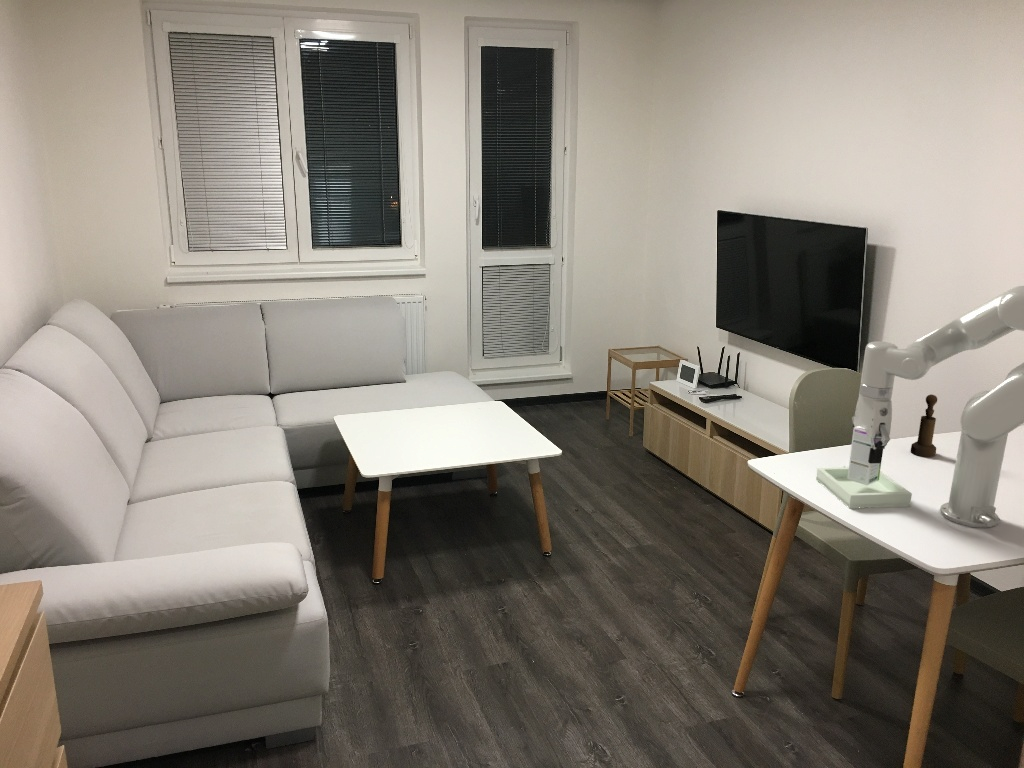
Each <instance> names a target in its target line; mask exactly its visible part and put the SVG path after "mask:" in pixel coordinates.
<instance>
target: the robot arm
mask: <svg viewBox="0 0 1024 768" xmlns="http://www.w3.org/2000/svg"><path fill="white" fill-rule="evenodd" d="M1016 330H1017V331H1021V332H1024V285H1019V286H1016V287H1013V288H1010V289H1009V290H1007V291H1004V292H1003V293H1001V294H999V295H997V296H995V297H994V298H992V299H990V300H988V301H987V302H985V303H983V304H981V305H979V306H977V307H976V308H974V309H971V310H969V311H968V312H966V313H964V314H963V315H960V316H959V317H956V318H954V319H953V320H952V321H950V322H949V323H947V324H945V325H943V326H941V327H939V328H937V329H935V330H933V331H931V332H929V333H928V334H925V335H924V336H922V337H920V338H918V339H917V340H915V341H913V342H911V343H910V344H908V345H907V346H906V347H904V348H899V347H898V346H897V345H896V344H894V343H891V342H886V341H871V342H868V343H867V344H866V346H865V350H864V356H863V364H862V369H861V376H860V377H861V378H860V385H859V392H858V398H857V402H856V407H855V411H854V415H853V416H852V417H851V420H852V429H853V430H854V427H857V426H860V427H862V428H864V429H865V430H866V435H867V436H868V437H870V438H871V443H872V448H870V453H869V460H868V462H869V463H881V464H882V462H883V461H882V459H883V452H884V449H886V447H887V445H888V443H889V442H890V441H891V437H890V435H891V429H892V418H893V417H892V416H893V402H892V395H893V390H894V382H895V377H898V378H902V379H905V380H911V381H916V380H920V379H922V378H923V377H925V376H926V375H927V373H929V371H930V369H931V368H932V367H934V366H937V365H938V364H940V363H942V362H944V361H945V360H947V359H949V358H951V357H953V356H955V355H958V354H959V353H962V352H965V351H969V350H970V351H973V350H978V349H980V348H984V347H985V346H987V345H989V344H990V343H993V342H995V341H996V340H998V339H1000V338H1002V337H1005V336H1007V335H1008V334H1010V333H1013V332H1014V331H1016ZM961 412H962V413H961V415H960V426H961V433H960V437H959V443H958V448H957V454H956V458H955V464H954V465H955V466H954V469H953V474H952V475H953V477H952V482H951V487H950V492H949V493H950V494H949V498H948V499H949V500H948V502H945V503H943V504H942V505H940V509H939V512H940V514H941V515H942V516H943V517H944V518H946V519H947V520H950V521H951V522H954V523H955V524H956V523H957V524H959V525H963V526H966V527H971V528H972V527H973V528H980V529H981V528H984V529H985V528H993V527H996V526H997V525H998V524H999V523H1000V522H1001V518H1000V517H999V515H998V514H997V513H996V512H997V511H996V510H997V508H996V506H995V503H996V497H997V491H998V487H999V481H1000V476H1001V471H1002V465H1003V461H1004V457H1005V450H1006V445H1007V442H1008V436H1009V434H1010V433H1011V432H1013V431H1014V430H1016V429H1017V428H1019V427H1020V426H1021V425H1023V424H1024V362H1022V363H1020V364H1019V365H1018V366H1016V367H1014V368H1013V369H1011V370H1010V372H1009V373H1007V375H1006V377H1005V379H1004V380H1003V381H1002V382H1000V383H999V384H998V385H996V386H995V387H994V388H992V390H983V391H979V392H977V393H975V394H973V396H971V397H970V398H969V399H968V401H967V402H966V404H965V406H964V408H963V410H962V411H961ZM875 434H879V436H875ZM875 439H879V441H878V442H877V443H876V440H875Z"/></svg>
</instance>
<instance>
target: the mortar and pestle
mask: <svg viewBox="0 0 1024 768" xmlns="http://www.w3.org/2000/svg"><path fill="white" fill-rule="evenodd" d="M925 402H926V405H927V408H925V415H921V417H920V422H919V430H918V436H917V441H915V442H913V443H911V446H910V453H911V454H913V455H915V456H918V457H923V458H925V457H926V458H933V457H935V456H936V453H937V447H936V446H935V445H934V444H933V439H934V433H935V426H936V422H937V418H936V417H934V416H933V415H934V413H935V409H934V406H935V405H936V404H937V403H938V397H937V396H936V395H935V394H928V395H927V396H925Z"/></svg>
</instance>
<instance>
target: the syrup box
mask: <svg viewBox="0 0 1024 768" xmlns="http://www.w3.org/2000/svg"><path fill="white" fill-rule="evenodd" d="M852 431H853V432H852V439H851V447H850V453H849V454H850V456H849V463H848V467H849V471H848V479H850V480H852V481H855V482H858V483H861V484H864V485H867V486H868V485H869V484H871V483H874V482H876V481H878V480H879V475H880V471H881V468H882V467H881V466H882V462H881V463H869V462H868V460H869V453H870V448H872V443H871V438H870V437H868V436H867V435H866V430H865V429H864V428H862V427H860V426H857V427H854V429H853V430H852ZM875 436H879V434H875ZM875 440H876V443H877V442H878V441H879V439H875Z"/></svg>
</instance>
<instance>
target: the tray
mask: <svg viewBox="0 0 1024 768" xmlns="http://www.w3.org/2000/svg"><path fill="white" fill-rule="evenodd" d="M816 469H817V470H816V476H815V481H816V480H817V481H816V482H818V481H819V482H820V483H821V484H822V485H824V486H825V487H826V488H827V489H828V490H829V491H830V492H831V494H832V495H833V496H834V495H835V496H836V497H837V498H838V499H837V498H836V497H835V496H834V497H835V498H836V499H837V500H839V499H840V500H841V501H840V500H839V501H840V502H841V503H842V502H843V503H844V504H845V505H844V504H843V503H842V504H843V505H844V506H846V507H847V506H848V507H849V508H848V507H847V508H848V509H865V508H864V507H868V508H867V509H871V507H875V508H900V507H901V508H902V507H905V508H906V507H911V503H912V495H913V493H912V492H911V491H910V490H908V489H907V488H905V487H904V486H902V485H901V484H899V483H898V482H896V481H895V480H894V479H893V478H891V477H889V475H887V474H885V473H884V472H883V471H881V470H880V475H879V480H878V481H876V482H874V483H871V484H869V485H868V486H867V485H864V484H861V483H858V482H855V481H852V480H850V479H848V471H849V466H844V467H843V466H842V467H837V466H835V467H817V468H816ZM819 482H818V483H819ZM820 483H819V484H820ZM821 484H820V485H821ZM822 485H821V486H822ZM825 487H824V488H825ZM826 488H825V489H826ZM827 489H826V490H827ZM828 490H827V491H828ZM829 491H828V492H829ZM830 492H829V493H830ZM859 507H860V508H859ZM875 508H874V509H875Z"/></svg>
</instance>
